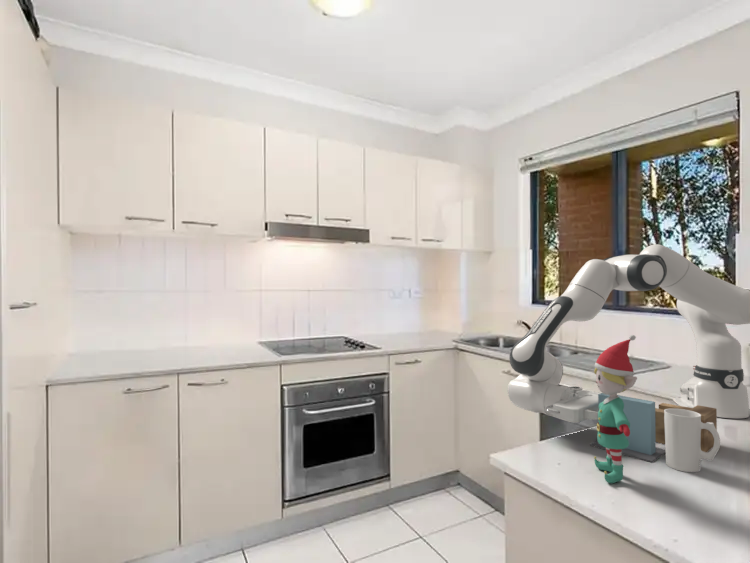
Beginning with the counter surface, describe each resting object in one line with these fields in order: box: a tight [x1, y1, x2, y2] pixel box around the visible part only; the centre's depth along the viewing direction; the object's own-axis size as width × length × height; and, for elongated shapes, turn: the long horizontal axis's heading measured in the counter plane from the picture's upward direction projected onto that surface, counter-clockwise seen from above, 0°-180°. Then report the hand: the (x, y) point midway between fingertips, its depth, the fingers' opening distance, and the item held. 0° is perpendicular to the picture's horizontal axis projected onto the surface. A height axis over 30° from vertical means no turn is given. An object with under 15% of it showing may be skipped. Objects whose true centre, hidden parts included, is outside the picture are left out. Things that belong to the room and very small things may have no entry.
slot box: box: [655, 402, 718, 452], centre depth 113 cm, size 12×10×9 cm
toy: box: [593, 334, 638, 484], centre depth 94 cm, size 17×8×30 cm, turn 167°
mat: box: [589, 439, 666, 463], centre depth 109 cm, size 14×10×1 cm
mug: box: [664, 409, 721, 473], centre depth 97 cm, size 10×7×12 cm, turn 45°
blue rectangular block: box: [598, 392, 657, 455], centre depth 110 cm, size 12×3×12 cm, turn 39°
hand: (614, 413), depth 112 cm, fingers open, 8 cm apart
